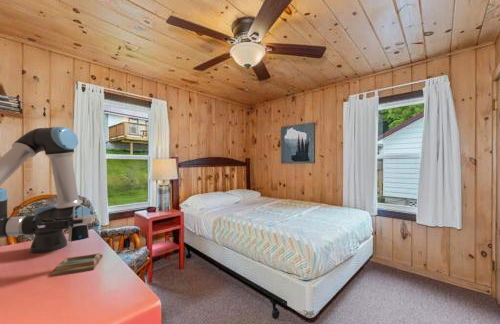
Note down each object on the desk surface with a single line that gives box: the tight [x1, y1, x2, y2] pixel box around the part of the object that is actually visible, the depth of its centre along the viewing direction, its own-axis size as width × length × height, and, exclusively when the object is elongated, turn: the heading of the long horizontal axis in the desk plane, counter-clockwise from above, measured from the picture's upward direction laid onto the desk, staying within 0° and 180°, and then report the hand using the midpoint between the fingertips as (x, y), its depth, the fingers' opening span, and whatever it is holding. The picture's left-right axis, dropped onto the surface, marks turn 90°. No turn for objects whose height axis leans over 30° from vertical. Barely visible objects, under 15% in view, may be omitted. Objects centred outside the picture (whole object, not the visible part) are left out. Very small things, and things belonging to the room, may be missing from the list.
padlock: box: [67, 204, 90, 242], centre depth 99 cm, size 7×4×15 cm, turn 140°
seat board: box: [51, 252, 103, 278], centre depth 99 cm, size 15×14×3 cm
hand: (93, 219), depth 101 cm, fingers closed on padlock, 3 cm apart
